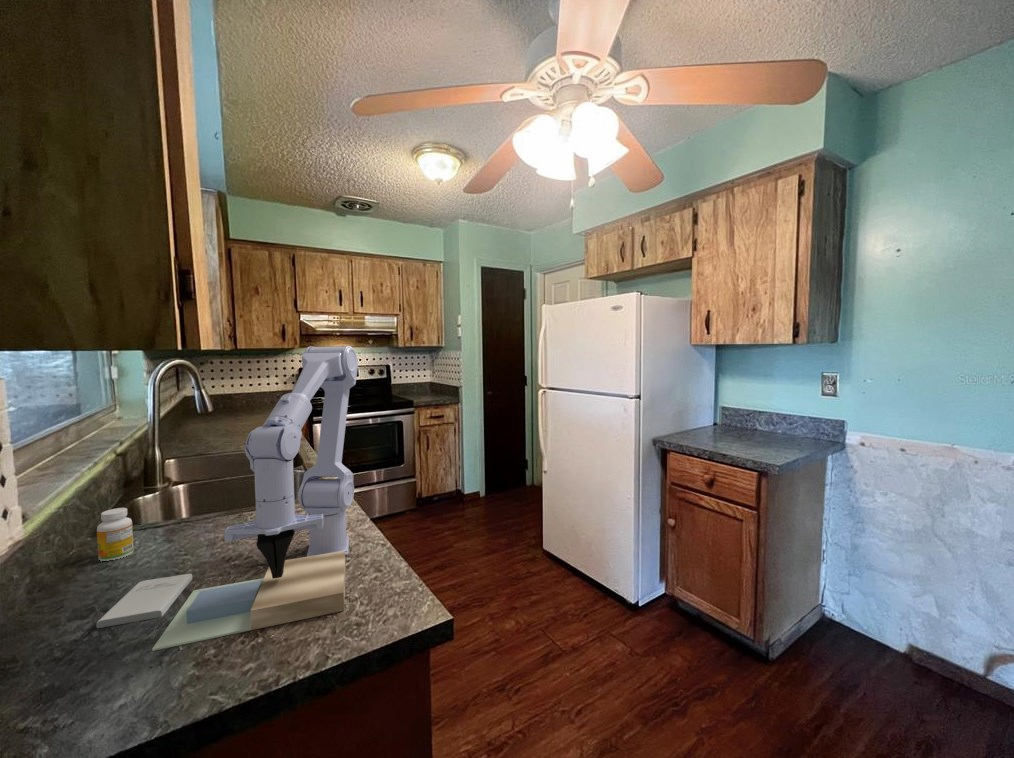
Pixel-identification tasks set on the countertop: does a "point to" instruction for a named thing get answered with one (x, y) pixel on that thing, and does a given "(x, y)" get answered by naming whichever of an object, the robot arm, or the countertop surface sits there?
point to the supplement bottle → (114, 535)
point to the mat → (202, 625)
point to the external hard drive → (146, 600)
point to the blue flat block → (223, 602)
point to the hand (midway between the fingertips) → (278, 575)
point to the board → (301, 590)
